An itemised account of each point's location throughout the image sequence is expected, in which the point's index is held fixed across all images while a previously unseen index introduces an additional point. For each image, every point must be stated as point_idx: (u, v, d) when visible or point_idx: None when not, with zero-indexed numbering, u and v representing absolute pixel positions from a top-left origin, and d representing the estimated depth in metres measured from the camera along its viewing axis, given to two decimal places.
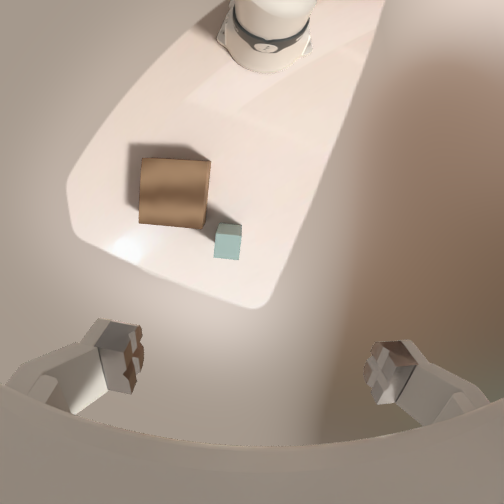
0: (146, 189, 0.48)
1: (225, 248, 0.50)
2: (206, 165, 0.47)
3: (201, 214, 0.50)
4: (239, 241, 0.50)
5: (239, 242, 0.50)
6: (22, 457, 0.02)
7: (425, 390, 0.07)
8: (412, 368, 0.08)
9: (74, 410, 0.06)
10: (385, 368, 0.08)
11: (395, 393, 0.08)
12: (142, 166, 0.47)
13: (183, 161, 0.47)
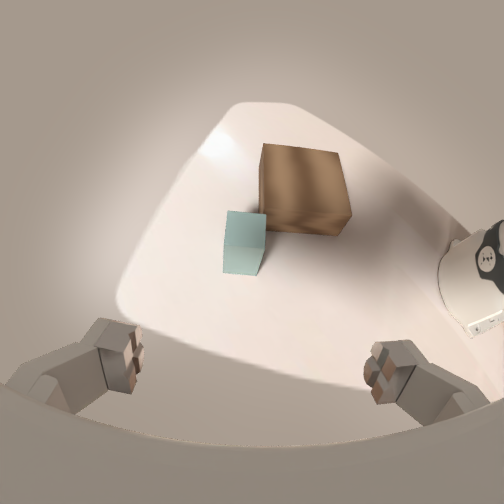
0: (305, 153, 0.41)
1: (242, 226, 0.32)
2: (347, 214, 0.37)
3: (285, 207, 0.36)
4: (255, 245, 0.31)
5: (254, 245, 0.31)
6: (22, 457, 0.02)
7: (425, 390, 0.07)
8: (411, 368, 0.08)
9: (73, 411, 0.06)
10: (385, 368, 0.08)
11: (395, 393, 0.08)
12: (329, 152, 0.42)
13: (345, 190, 0.39)
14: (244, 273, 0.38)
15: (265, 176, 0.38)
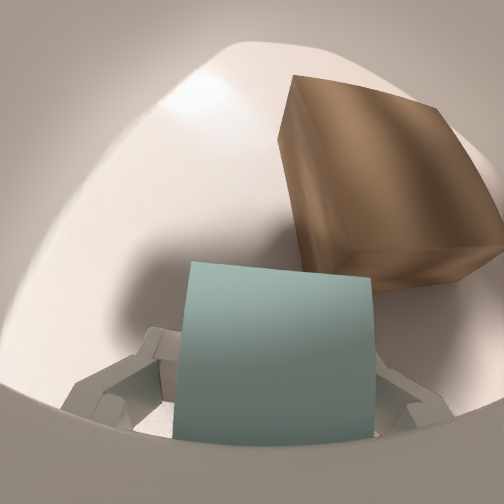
0: (389, 102, 0.15)
1: (267, 351, 0.06)
2: None
3: (407, 243, 0.10)
4: None
5: None
6: (22, 457, 0.02)
7: (381, 397, 0.07)
8: None
9: None
10: None
11: None
12: (424, 105, 0.16)
13: (484, 186, 0.13)
14: None
15: (326, 147, 0.12)
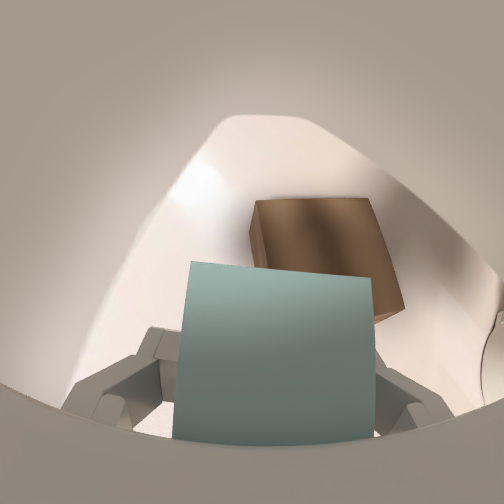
0: (324, 209, 0.27)
1: (267, 352, 0.06)
2: (399, 308, 0.23)
3: None
4: None
5: None
6: (22, 457, 0.02)
7: (381, 397, 0.07)
8: None
9: None
10: None
11: None
12: (357, 200, 0.28)
13: (390, 266, 0.25)
14: None
15: None
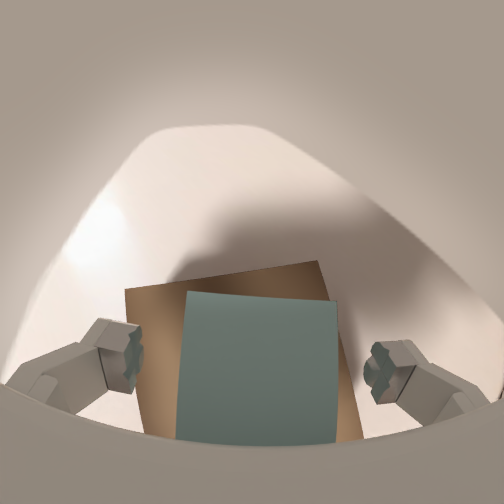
0: (234, 294, 0.16)
1: (248, 363, 0.07)
2: None
3: None
4: (302, 441, 0.06)
5: (296, 442, 0.06)
6: (22, 457, 0.02)
7: (425, 390, 0.07)
8: (412, 368, 0.08)
9: (74, 410, 0.06)
10: (385, 368, 0.08)
11: (395, 393, 0.08)
12: (296, 267, 0.18)
13: (347, 380, 0.15)
14: None
15: (142, 404, 0.13)
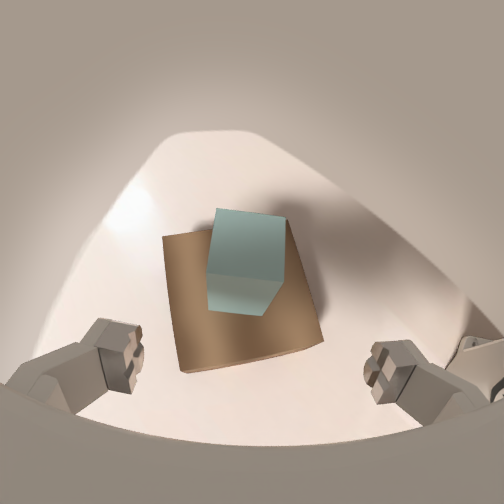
0: None
1: (242, 237, 0.17)
2: (316, 341, 0.23)
3: (213, 363, 0.21)
4: (266, 276, 0.16)
5: (263, 276, 0.16)
6: (22, 457, 0.02)
7: (425, 390, 0.07)
8: (412, 368, 0.08)
9: (73, 411, 0.06)
10: (385, 368, 0.08)
11: (395, 393, 0.08)
12: None
13: (308, 295, 0.25)
14: (243, 312, 0.23)
15: (172, 308, 0.23)
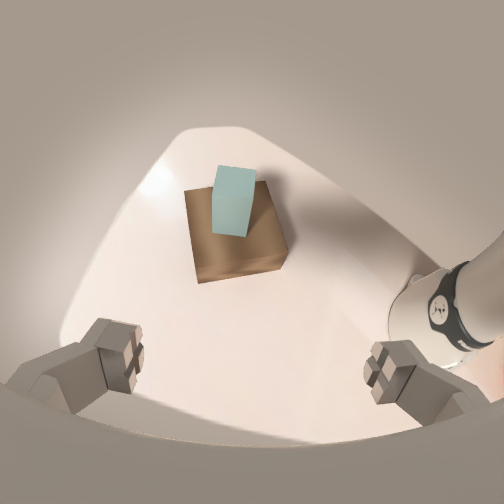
0: None
1: (231, 179, 0.31)
2: (283, 252, 0.37)
3: (216, 262, 0.35)
4: (243, 196, 0.30)
5: (242, 196, 0.30)
6: (22, 457, 0.02)
7: (425, 390, 0.07)
8: (412, 367, 0.08)
9: (74, 411, 0.06)
10: (385, 368, 0.08)
11: (395, 393, 0.08)
12: (255, 183, 0.42)
13: (278, 224, 0.39)
14: (233, 233, 0.37)
15: (191, 231, 0.37)
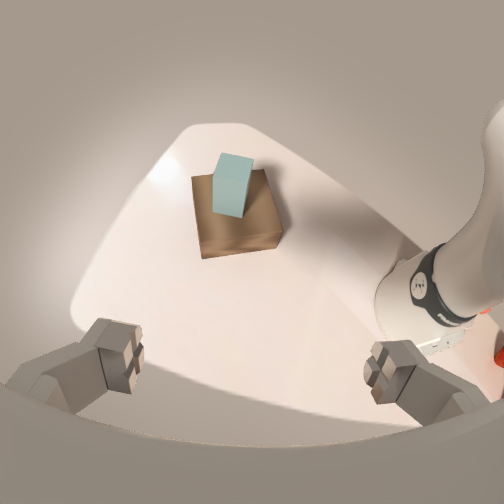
0: None
1: (231, 165, 0.36)
2: (278, 230, 0.42)
3: (218, 237, 0.40)
4: (239, 180, 0.35)
5: (238, 179, 0.35)
6: (22, 457, 0.02)
7: (425, 390, 0.07)
8: (411, 368, 0.08)
9: (73, 411, 0.06)
10: (385, 368, 0.08)
11: (395, 393, 0.08)
12: (255, 171, 0.46)
13: (274, 207, 0.43)
14: (231, 214, 0.41)
15: (197, 210, 0.42)
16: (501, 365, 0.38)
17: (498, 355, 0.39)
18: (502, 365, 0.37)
